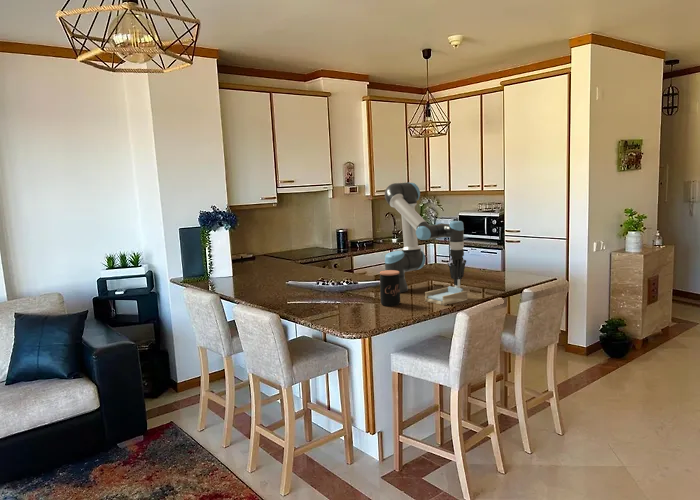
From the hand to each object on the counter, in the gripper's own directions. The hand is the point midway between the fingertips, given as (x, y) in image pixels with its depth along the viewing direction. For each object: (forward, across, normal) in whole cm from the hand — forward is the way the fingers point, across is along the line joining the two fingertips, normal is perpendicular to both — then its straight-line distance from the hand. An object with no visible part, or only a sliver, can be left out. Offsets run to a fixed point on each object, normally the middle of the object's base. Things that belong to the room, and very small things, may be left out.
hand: (457, 290), depth 300 cm
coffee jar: (+4, -36, +16) cm, 39 cm away
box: (+4, -9, 0) cm, 10 cm away
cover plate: (+2, -9, 0) cm, 9 cm away
